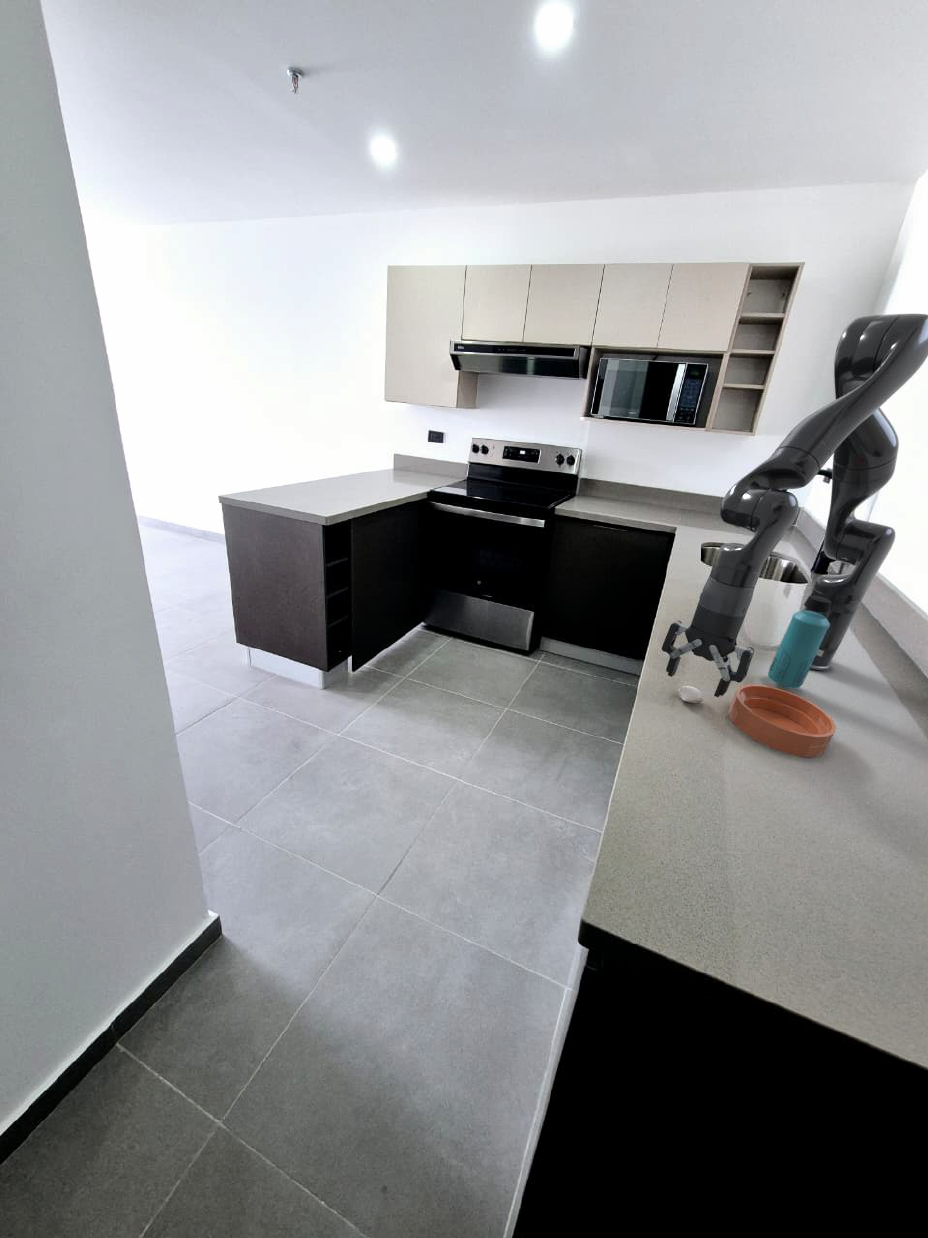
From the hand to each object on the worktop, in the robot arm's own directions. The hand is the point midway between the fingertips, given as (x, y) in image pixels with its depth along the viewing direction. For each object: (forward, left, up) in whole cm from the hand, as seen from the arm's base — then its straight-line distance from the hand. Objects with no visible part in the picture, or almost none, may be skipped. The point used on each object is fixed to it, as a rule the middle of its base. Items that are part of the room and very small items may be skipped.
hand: (693, 684), depth 90 cm
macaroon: (0, 0, -4) cm, 4 cm away
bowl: (-4, +14, -4) cm, 15 cm away
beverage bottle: (-24, +11, -4) cm, 26 cm away
